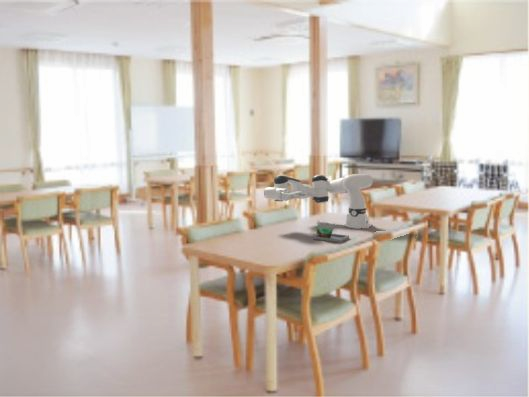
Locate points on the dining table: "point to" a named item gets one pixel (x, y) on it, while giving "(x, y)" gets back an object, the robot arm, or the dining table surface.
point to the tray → (333, 238)
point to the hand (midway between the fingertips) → (302, 196)
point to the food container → (324, 229)
